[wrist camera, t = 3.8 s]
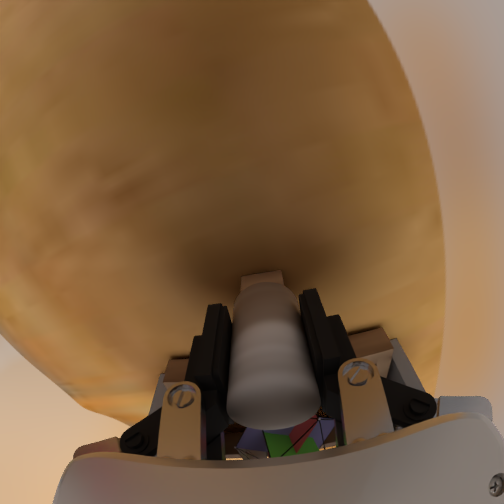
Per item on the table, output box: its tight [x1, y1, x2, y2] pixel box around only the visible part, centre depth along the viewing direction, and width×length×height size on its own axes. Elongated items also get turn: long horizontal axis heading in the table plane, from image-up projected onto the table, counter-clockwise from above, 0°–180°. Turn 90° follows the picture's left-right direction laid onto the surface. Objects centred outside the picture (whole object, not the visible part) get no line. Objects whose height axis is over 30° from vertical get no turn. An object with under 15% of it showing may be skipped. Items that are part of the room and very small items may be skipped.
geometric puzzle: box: [234, 414, 335, 460], centre depth 16 cm, size 7×7×8 cm
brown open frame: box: [163, 270, 394, 458], centre depth 14 cm, size 18×14×7 cm
